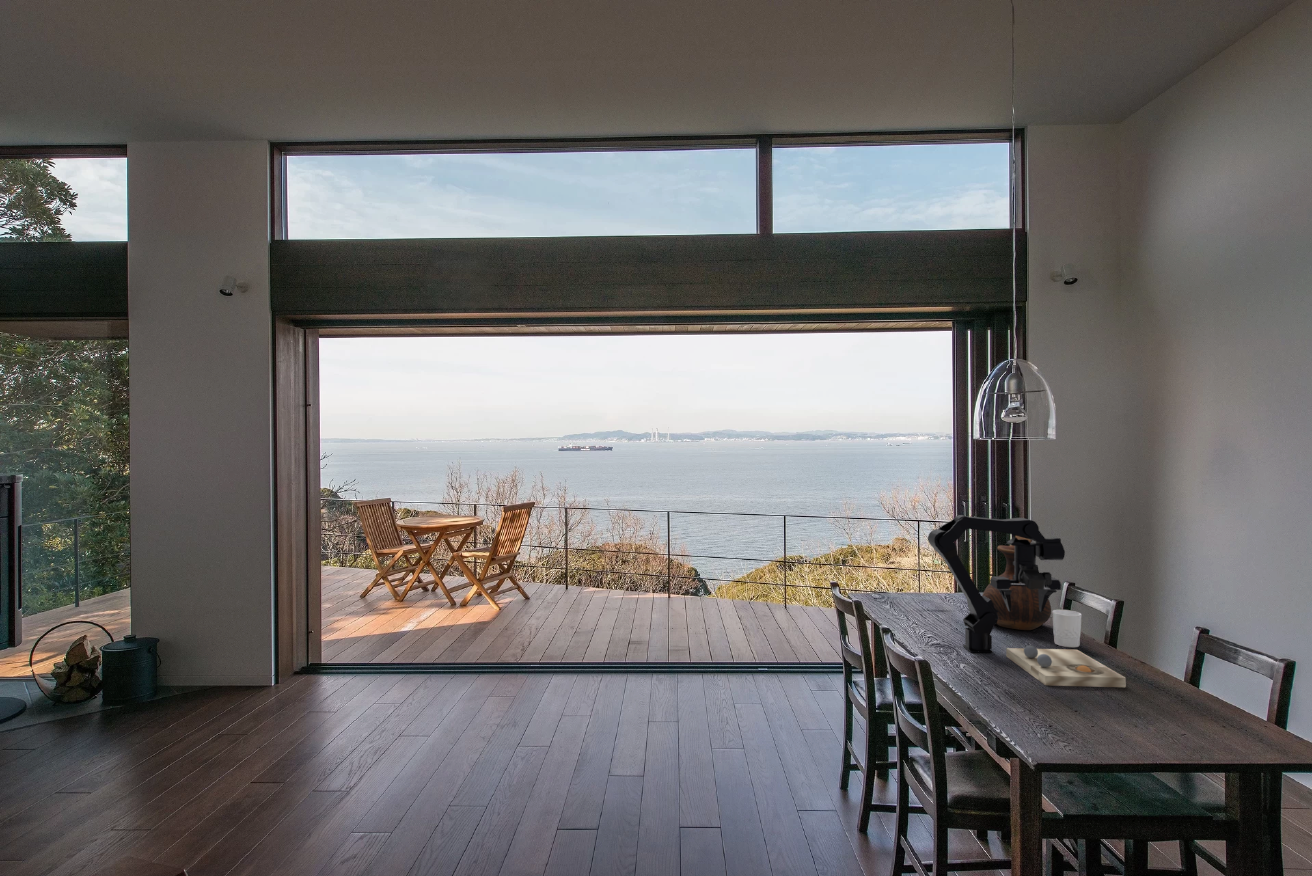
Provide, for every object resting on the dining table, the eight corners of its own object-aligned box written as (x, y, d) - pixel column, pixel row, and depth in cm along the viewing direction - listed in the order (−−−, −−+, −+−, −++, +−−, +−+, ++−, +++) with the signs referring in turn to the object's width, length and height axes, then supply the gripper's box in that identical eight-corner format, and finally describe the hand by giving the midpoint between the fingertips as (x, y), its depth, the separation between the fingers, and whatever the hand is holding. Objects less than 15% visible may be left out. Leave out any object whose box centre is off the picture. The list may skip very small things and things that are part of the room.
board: (1045, 685, 182) (1045, 675, 182) (1006, 656, 206) (1006, 648, 206) (1125, 687, 180) (1125, 677, 180) (1076, 658, 204) (1076, 649, 204)
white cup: (1073, 641, 221) (1073, 609, 221) (1086, 648, 213) (1086, 616, 213) (1047, 640, 222) (1047, 609, 222) (1059, 647, 214) (1059, 615, 214)
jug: (1067, 632, 231) (1067, 542, 231) (1008, 635, 228) (1008, 543, 228) (1022, 615, 253) (1022, 533, 253) (968, 618, 249) (968, 534, 249)
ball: (1081, 682, 185) (1079, 669, 185) (1075, 677, 189) (1072, 664, 189) (1095, 679, 185) (1092, 666, 185) (1088, 675, 188) (1085, 662, 188)
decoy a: (1027, 659, 195) (1027, 647, 195) (1021, 655, 198) (1021, 643, 198) (1040, 660, 195) (1040, 647, 195) (1034, 656, 198) (1034, 643, 198)
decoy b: (1040, 669, 187) (1040, 656, 187) (1034, 664, 190) (1034, 652, 190) (1054, 669, 187) (1054, 656, 187) (1048, 665, 190) (1048, 652, 190)
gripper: (1004, 564, 204) (1004, 617, 204) (1071, 565, 202) (1071, 618, 202) (989, 557, 215) (989, 608, 215) (1052, 558, 213) (1052, 609, 213)
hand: (1025, 611), depth 211 cm, fingers open, 9 cm apart
